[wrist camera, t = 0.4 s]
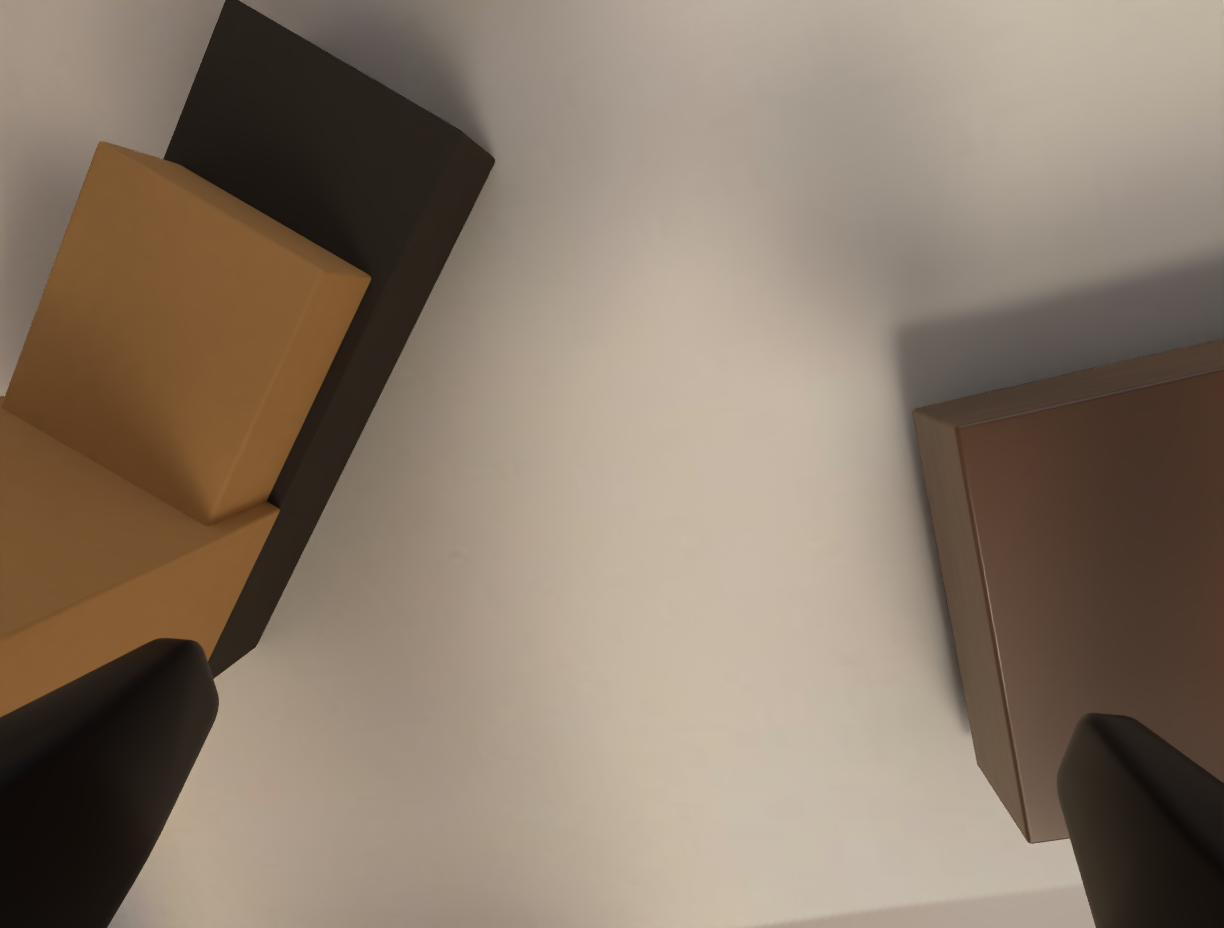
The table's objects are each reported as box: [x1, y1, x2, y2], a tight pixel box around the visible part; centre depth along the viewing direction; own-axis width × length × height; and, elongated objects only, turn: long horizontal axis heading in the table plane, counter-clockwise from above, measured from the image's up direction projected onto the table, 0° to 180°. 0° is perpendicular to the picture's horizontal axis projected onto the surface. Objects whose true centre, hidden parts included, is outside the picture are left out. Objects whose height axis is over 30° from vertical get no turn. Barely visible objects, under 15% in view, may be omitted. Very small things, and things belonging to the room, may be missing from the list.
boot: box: [0, 0, 495, 717], centre depth 14 cm, size 16×6×14 cm, turn 150°
